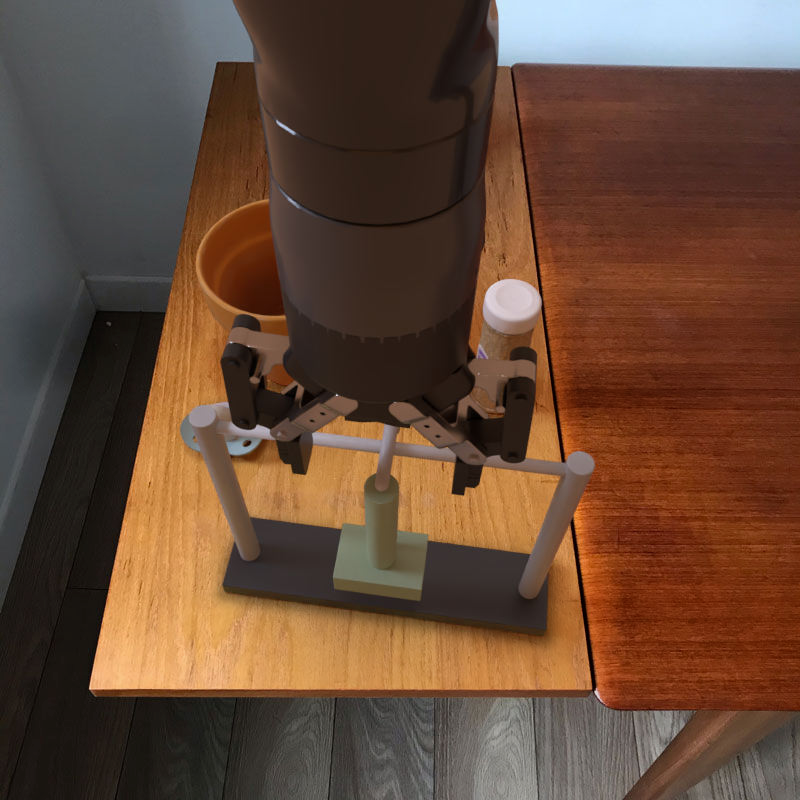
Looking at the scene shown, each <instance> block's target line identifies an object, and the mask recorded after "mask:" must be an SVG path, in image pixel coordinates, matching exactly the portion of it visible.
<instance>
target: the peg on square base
mask: <svg viewBox="0 0 800 800" xmlns="http://www.w3.org/2000/svg"><path fill="white" fill-rule="evenodd" d="M400 431H401V427H394V426H390V425H386V424H383V431H382V437H381V440H382V442H381V448H380V454H379V453H378V454H379V455H378V460H377V467H376V472H375V473H373V474H371V475H370V476H369V477H368V478H367V479H366V480H365V482H364V485H363V497H364V499H363V501H364V503H363V504H364V524H365V525H362V524H355V523H347V522H343V523H342V526H341V529H342V531H341V537H340V542H339V547H338V553H337V558H336V563H335V569H334V574H333V581H334V587H335V589H338V590H343V591H350V592H357V593H365V594H372V595H379V596H386V597H393V598H400V599H407V600H415V601H416V600H417V601H420V600H421V593H422V585H423V577H424V569H425V561H426V553H427V545H428V541H429V536H430V535H429V534H428V533H421V532H413V531H407V530H400V529H398V527H399V508H400V507H399V506H400V483H399V481H398V480H397V478H396V477H395V476H394V475H393V474H392V468H393V462H394V461H393V460H394V456H395V455H394V449H395V443H396V442H397V436H398V434H399V433H400Z"/></svg>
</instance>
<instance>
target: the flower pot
mask: <svg viewBox="0 0 800 800" xmlns="http://www.w3.org/2000/svg"><path fill="white" fill-rule="evenodd" d="M195 272H196V276H197V280H198V283H199V285H200V289H201V292H202V296H203V298H204V301H205V303H206V305H207V308H208V310H209V312H210V314H211V316H212V317H213V318H214V320H215V321H216V322H217V323H218V325H220V326H221V327H222V328H223V329H224V330H225V331H227V332H228V333H229V334H230V331H231V328H232V325H233V322H234V319H235V317H236V316H237V315H240V314H248V315H251V316H253V317H255V318H256V319H258V320H259V322H260V324H261V332H264V333H270V334H277V335H283V336H288V330H287V324H286V317H285V311H284V305H283V299H282V293H281V287H280V281H279V275H278V269H277V263H276V257H275V251H274V244H273V238H272V233H271V225H270V214H269V198H266V199H261V200H257V201H254V202H250V203H247V204H245V205H243V206H240V207H237V208H236V209H234V210H232V211H231V212H229V213H227V214H225V215H224V216H223V217H222V218H220V219H219V220H217V221H216V222H215V223H214V224H213V225H212V226H211V228H210V229H208V231H207V232H206V233H205V235H204V237H203V238H202V240H201V242H200V244H199V247H198V249H197V252H196V257H195ZM267 381H270V382H272V383H275V384H278V385H280V386H285V387H287V386H288V385H289V384H291V383H292V382H293V381H295V380H294V379H293V378H291V377H290V376H289V375H288V374H287V372H286V371H285V369H284V366H283V364H278V365H275V366H273V367H272V370H271V372H270V374H268V375H267Z"/></svg>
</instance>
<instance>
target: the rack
mask: <svg viewBox="0 0 800 800" xmlns="http://www.w3.org/2000/svg"><path fill="white" fill-rule="evenodd" d="M209 405H210V404H200V405H196V406H195V407H194V408H192V410H190V412H189V414H190V415H189V421H190V424H191V426H192V429H193V432H194V434H195V439H196V443H198V445H199V448H200V450H201V455H202V458H203V460H204V463H205V466H206V469H207V471H208V474H209V477H210V479H211V481H212V485H213V487H214V489H215V492H216V495H217V497H218V500H219V503H220V505H221V508H222V511H223V514H224V516H225V519H226V521H227V524H228V526H229V529H230V532H231V535H232V537H233V539H234V541H233V544H232V547H231V552H230V555H229V559H228V563H227V566H226V570H225V572H224V576H223V580H222V585H221V586H222V588H223V590H224V592H225V593H228V594H235V595H244V596H250V597H258V598H265V599H272V600H279V601H286V602H294V603H300V604H308V605H315V606H322V607H329V608H337V609H345V610H351V611H357V612H366V613H372V614H379V615H386V616H387V615H388V616H394V617H402V618H408V619H415V620H423V621H430V622H437V623H445V624H452V625H460V626H468V627H474V628H481V629H488V630H495V631H503V632H508V633H509V632H510V633H517V634H523V635H524V634H525V635H531V636H539V637H544V636H545V634H546V633H547V630H548V604H549V602H548V599H549V598H548V597H549V571H550V569H551V567H552V564H553V562H554V561H555V558H556V555H557V553H558V551H559V549H560V546H561V544H562V542H563V540H564V538H565V536H566V533H567V531H568V529H569V527H570V525H571V522H572V520H573V518H574V515H575V513H576V511H577V509H578V507H579V505H580V502H581V500H582V498H583V495H584V494H585V491H586V489H587V487H588V484H589V483H590V480H591V478H592V476H593V473H594V471H595V469H596V463H595V462H596V461H595V460H594V458H593V457H592V456H591V455H590V454H589V453H587V452H586V451H582V450H578V451H573V452H571V453H570V454H569V455H568V456H567V459H566V461H565V462H561V461H554V460H553V461H552V460H547V459H546V460H545V459H538V458H537V459H536V458H529V457H526V458H525V460H524V461H523V462H520V463H508V462H505V461H503V460H502V459H501V458H500V455H497V456H491V457H488V458H487V459H486V462H485V463H484V464H483V468H492V469H498V470H499V469H500V470H507V471H514V472H515V471H516V472H523V473H530V474H540V475H546V476H547V475H548V476H556V477H559V479H558V482H557V484H556V487H555V490H554V492H553V495H552V498H551V499H550V502H549V505H548V508H547V510H546V512H545V516H544V518H543V520H542V523H541V526H540V528H539V531H538V533H537V537H536V539H535V542H534V544H533V547H532V549H531V552H530V553H525V552H519V551H510V550H504V549H503V550H502V549H497V548H496V549H495V548H487V547H481V546H473V545H465V544H457V543H451V542H444V541H443V542H442V541H435V540H428V545H427V553H426V561H425V569H424V577H423V585H422V593H421V600H420V601H417V600H416V601H415V600H407V599H400V598H393V597H386V596H379V595H372V594H365V593H357V592H350V591H343V590H338V589H335V587H334V581H333V574H334V569H335V563H336V558H337V553H338V547H339V542H340V537H341V531H342V528H337V527H329V526H323V525H322V526H321V525H313V524H305V523H298V522H291V521H284V520H277V519H276V520H275V519H270V518H269V519H268V518H262V517H261V518H260V517H254V516H253V517H252V516H251V515H250V512H249V510H248V507H247V503H246V501H245V497H244V495H243V494H244V493H243V491H242V487H241V485H240V481H239V478H238V476H237V472H236V469H235V466H234V463H233V460H232V457H231V455H230V454H229V450H228V447H227V444H226V441H225V438H224V435H223V434H228V435H236V436H244V437H252V438H260V439H262V440H269V441H275V442H276V440H275V438H273V437H272V436H271V435H270V430H269V429H268V428H266V427H263V426H260V425H257V426H256V428H255V429H253V430H244V429H240V428H238V427H236V426H235V425H234V424H233V423H232V421H224V420H219V419H218V416H217V413H216V411H215V409H214V408H213V407H211V406H209ZM312 436H313V446H317V447H324V448H333V449H338V450H339V449H341V450H347V451H356V452H363V453H364V452H365V453H372V454H380V448H381V442H382V439H377V438H370V437H360V436H352V435H344V434H336V433H330V432H329V433H328V432H321V431H316V432H314V433H312ZM393 456H396V457H404V458H411V459H412V458H414V459H420V460H427V461H436V462H445V463H450V464H451V463H452V464H455V457H456V454H455V453H453V452H452V451H451V450H450V449H449V448H448V447H447V448H443V449H438V448H436V447H435V446H434V445H427V444H426V445H425V444H424V445H423V444H415V443H408V442H402V441H401V442H400V441H396V443H395V449H394V455H393Z"/></svg>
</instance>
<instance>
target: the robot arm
mask: <svg viewBox="0 0 800 800" xmlns="http://www.w3.org/2000/svg"><path fill="white" fill-rule="evenodd" d="M231 1H232V3H233V5H234V8H235V10H236V12H237V14H238V16H239V18H240V20H241V22H242V25H243V26H244V29H245V31H246V32H247V36H248V38H249V40H250V42H251V45H252V57H253V66H254V67H253V68H254V75H255V83H256V91H257V99H258V104H259V112H260V118H261V124H262V130H263V136H264V143H265V150H266V156H267V164H268V171H269V172H268V176H269V178H268V180H269V181H268V182H269V183H268V188H269V189H268V199H269V214H270V225H271V233H272V238H273V244H274V251H275V257H276V263H277V269H278V275H279V281H280V287H281V293H282V299H283V305H284V311H285V317H286V324H287V330H288V336H283V335H277V334H270V333H264V332H261V324H260V322H259V320H258V319H256V318H255V317H253V316H251V315H248V314H240V315H237V316H236V317H235V319H234V322H233V325H232V328H231V331H230V333H229V334H228V336H227V340H226V342H225V346H224V349H223V352H222V355H221V359H220V362H219V363H220V368H221V372H222V377H223V383H224V387H225V388H224V389H225V393H226V399H227V402H228V404H229V409H230V414H231V419H232V423H233V424H234V425H235V426H236V427H238V428H240V429H244V430H253V429H255V428H256V426H257V425H260V426H263V427H266V428H268V429H269V430H270V435H271V436H272V437H273V438H275V440H276V441H275V440H274V441H275V443H276V448H277V452H278V457H279V460H280V461H281V462H282V463H283V464H284V465H290V468H291V473H292V474H293V475H300V476H307V474H308V470H309V465H310V462H311V458H312V454H313V453H312V452H313V448H314V445H313V436H312V433H314V432H318V431H319V430H320V429H322V428H324V427H325V426H327V425H328V424H330V423H331V422H333V421H334V420H336V419H337V418H339V417H340V416H342V417H343V418H344V421H345V422H352V423H353V422H355V423H379V424H383V425H385V424H386V425H390V426H394V427H400V428H401V429H402V428H403V429H411V427H412V428H413V429H414V430H416V432H418V434H420V435H421V436H423V437H424V439H426V440H427V441H428V442H429V443H430V444H432V446H434V447H436V448H438V449H443V448H449V449H450V450H451V451H452V452H453V453H455V454H456V457H455V463H454V466H453V474H452V484H451V492H450V493H451V494H450V495H454V496H462V497H464V496H465V494H466V493H465V492H466V488H469V489H476V488H477V487H479V486H480V484H481V479H482V478H481V477H482V473H483V469H484V467H483V464H484V463H485V462H486V459H487V458H488V457H491V456H497V455H500V458H501V459H502V460H503V461H505V462H508V463H520V462H523V461H524V460H525V458H527V452H528V446H529V440H530V434H531V430H532V429H531V428H532V423H533V418H534V417H533V416H534V411H535V405H536V391H537V372H538V370H537V369H538V352H537V351H536V350H535V349H534V348H532V347H531V346H530V347H524V346H523V347H517V348H514V349H513V350H512V351H511V352H510V357H509V361H508V360H495V359H482V358H476V356H477V354H476V353H475V352H474V350H473V349H472V347H471V346H470V339H471V331H472V324H473V317H474V316H473V315H474V310H475V303H476V295H477V289H478V288H477V287H478V280H479V274H480V268H481V267H480V266H481V259H482V253H483V251H484V248H485V244H486V230H485V229H486V219H487V189H486V166H487V157H488V150H489V143H490V142H489V141H490V136H491V135H490V134H491V128H492V127H491V126H492V119H493V111H494V103H495V95H496V84H497V77H498V65H499V55H500V54H499V53H500V52H499V51H500V37H499V36H500V29H499V28H500V27H499V25H500V24H499V23H500V20H499V10H498V5H497V1H496V0H231ZM278 364H283V366H284V369H285V371H286V372H287V374H288V375H289V376H290V377H291V378H293V379H294V380H295V381H293V382H292V383H291V384H289V385H288V386H285V387H284V388H283V389H282V390H281V391H280V392H277V391H274V390H271V389H268V387H269V385H268V384H269V383H268V379H267V375H268V374H270V372H271V370H272V367H273V366H275V365H278ZM474 387H478V388H481V389H483V390H485V391H486V392H487V394H488V398H489V399H490V400H491V401H492V402H494V403H495V411H496V412H498V413H497V414H502V417H490V415H489V413H488V412H486V411H484V410H483V409H482V408H481V407H480V406H479V405H478V404H477V403H476V402H475V401H474V400H473V399H472V398H471V394H470V393H471V392H472V390H473V388H474Z"/></svg>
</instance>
